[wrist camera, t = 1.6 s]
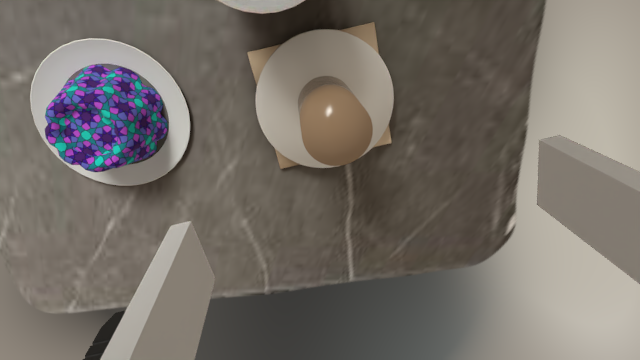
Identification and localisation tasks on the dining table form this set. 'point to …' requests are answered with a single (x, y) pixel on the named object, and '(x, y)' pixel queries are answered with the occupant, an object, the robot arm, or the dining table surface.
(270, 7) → the coffee mug
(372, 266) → the dining table surface
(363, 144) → the lid
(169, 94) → the pudding
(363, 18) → the dining table surface
